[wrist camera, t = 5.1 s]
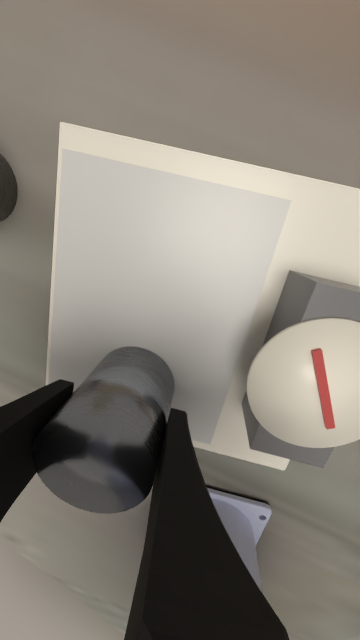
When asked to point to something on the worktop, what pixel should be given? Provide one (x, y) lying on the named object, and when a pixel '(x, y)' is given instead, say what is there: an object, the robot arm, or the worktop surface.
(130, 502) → the cylinder
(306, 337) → the kitchen scale
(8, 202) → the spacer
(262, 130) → the worktop surface
